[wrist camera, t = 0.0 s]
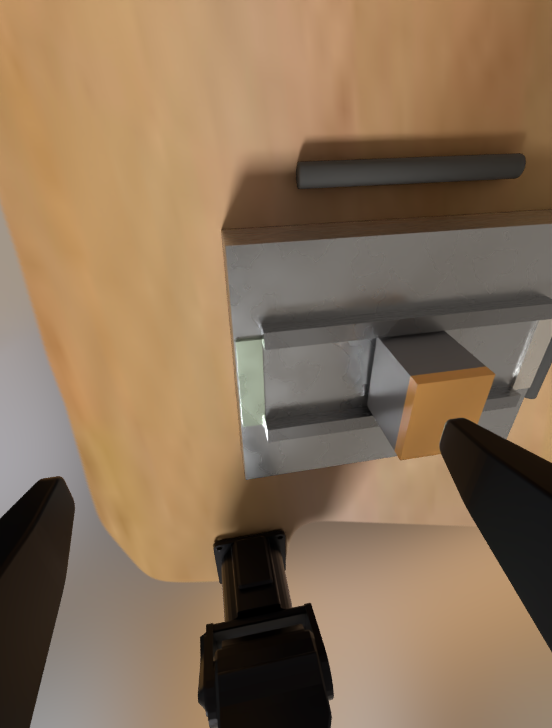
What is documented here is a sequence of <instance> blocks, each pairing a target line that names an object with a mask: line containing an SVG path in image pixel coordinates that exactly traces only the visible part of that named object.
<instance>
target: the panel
mask: <svg viewBox="0 0 552 728" xmlns="http://www.w3.org/2000/svg"><path fill="white" fill-rule="evenodd" d="M221 234H222V245H223V256H224V267H225V278H226V289H227V300H228V311H229V322H230V333H231V344H232V355H233V365H234V376H235V387H236V398H237V409H238V420H239V431H240V442H241V451H242V458H243V465H244V471H245V478H246V480H248V479H254V478H260V477H267V476H273V475H280V474H286V473H292V472H299V471H305V470H311V469H318V468H324V467H330V466H337V465H343V464H350V463H356V462H362V461H369V460H375V459H381V458H388V457H394V456H397V454H396V453H395V451H394V449H393V448H392V446H391V444H390V443H389V441H388V439H387V438H386V436H385V434H384V433H383V431H382V430H381V428H380V426H379V425H378V423H377V421H376V420H375V418H374V416H373V415H372V413H371V411H370V410H369V408H368V406H367V401H368V394H369V387H370V380H371V373H372V367H373V360H374V353H375V346H376V339H377V338H382V337H391V336H400V335H409V334H418V333H427V332H437V331H445V332H447V333H448V334H449V335H450V336H451V337H452V338H454V339H455V340H456V341H457V342H458V343H459V344H461V345H462V346H463V347H464V348H465V349H466V350H468V351H469V352H470V353H471V354H472V355H474V356H475V357H476V358H477V359H478V360H479V361H481V362H482V363H483V364H484V365H485V366H486V367H488V368H489V369H490V370H491V371H492V372H493V373H495V374H496V375H495V377H494V380H493V383H492V386H491V389H490V391H489V394H488V397H487V400H486V402H485V405H484V408H483V411H482V414H481V416H480V419H479V422H478V425H480V426H481V427H483V428H485V429H487V430H489V431H491V432H493V433H495V434H497V435H499V436H501V437H503V438H505V439H507V437H508V434H509V432H510V430H511V427H512V425H513V423H514V420H515V418H516V416H517V413H518V411H519V408H520V406H521V404H522V401H523V399H524V397H525V394H526V392H527V390H528V388H530V386H531V384H532V382H533V379H534V377H535V375H536V372H537V370H538V368H539V365H540V363H541V361H542V358H543V356H544V354H545V351H546V349H547V347H548V344H549V342H550V340H551V337H552V209H548V210H532V211H516V212H500V213H484V214H468V215H452V216H436V217H420V218H404V219H388V220H372V221H356V222H340V223H324V224H308V225H292V226H276V227H260V228H244V229H228V230H221Z"/></svg>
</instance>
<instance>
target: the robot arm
mask: <svg viewBox="0 0 552 728" xmlns="http://www.w3.org/2000/svg"><path fill="white" fill-rule="evenodd" d="M439 448H440V452H441V455H442V457H443V459H444V461H445V463H446V465H447V468H448V470H449V472H450V474H451V476H452V478H453V480H454V483H455V485H456V487H457V489H458V491H459V493H460V496H461V498H462V500H463V502H464V504H465V506H466V508H467V509H468V511H469V513H470V515H471V517H472V518H473V520H474V522H475V523H476V525H477V527H478V528H479V530H480V532H481V533H482V535H483V537H484V539H485V540H486V542H487V544H488V545H489V547H490V549H491V550H492V552H493V554H494V555H495V557H496V559H497V560H498V562H499V564H500V566H501V567H502V569H503V571H504V572H505V574H506V576H507V577H508V579H509V581H510V582H511V584H512V586H513V587H514V589H515V591H516V593H517V594H518V596H519V597H520V599H521V601H522V603H523V604H524V606H525V608H526V609H527V611H528V613H529V614H530V616H531V618H532V619H533V621H534V623H535V625H536V626H537V628H538V630H539V631H540V633H541V635H542V636H543V638H544V640H545V641H546V643H547V645H548V647H549V648H550V650H551V651H552V463H551V462H549V461H547V460H545V459H543V458H541V457H539V456H537V455H535V454H533V453H531V452H530V451H528V450H526V449H524V448H522V447H520V446H518V445H516V444H514V443H512V442H510V441H508V440H506V439H505V438H503V437H501V436H499V435H497V434H495V433H493V432H491V431H489V430H487V429H485V428H483V427H481V426H480V425H478V424H476V423H474V422H472V421H470V420H468V419H466V418H455V419H449V420H447V422H446V423H445V426H444V429H443V432H442V436H441V439H440V443H439ZM74 504H75V503H74V500H73V497H72V495H71V493H70V491H69V489H68V487H67V485H66V482H65V481H64V479H63V478H62V477H60V476H57V477H50V478H43V479H40V480H39V481H38V482H37V483H35V484H34V485H33V486H32V487H31V488H30V490H28V491H27V492H26V493H25V494H24V495H23V497H22V498H20V499H19V500H18V501H17V502H16V503H15V504H14V505H13V506H12V507H11V508H10V509H9V510H8V511H7V512H6V513H5V514H4V515H3V516H2V517H1V518H0V728H30V724H31V720H32V716H33V711H34V707H35V704H36V699H37V695H38V691H39V687H40V683H41V679H42V674H43V671H44V667H45V663H46V659H47V655H48V651H49V647H50V642H51V638H52V634H53V630H54V626H55V622H56V618H57V614H58V610H59V606H60V602H61V597H62V594H63V589H64V585H65V579H66V573H67V567H68V559H69V551H70V543H71V536H72V528H73V520H74V513H75V505H74ZM213 547H214V555H215V560H216V565H217V571H218V576H219V582H220V584H222V587H223V602H224V617H225V622H222V623H217V624H213V623H211V624H207V625H206V633H205V634H204V635H202V636H201V637H200V648H201V649H200V651H201V659H200V662H201V663H200V675H199V687H198V702H199V704H200V705H201V706H202V707H203V708H204V709H205V711H206V716H207V717H208V721H209V727H210V728H331V718H332V716H331V710H330V705H329V701H328V700H332V699H333V697H334V693H333V684H332V677H331V672H330V666H329V662H328V658H327V654H326V650H325V647H324V644H323V641H322V637H321V634H320V631H319V628H318V624H317V621H316V619H315V615H314V612H313V609H312V605H311V603H307V604H304V605H303V606H298V607H294V608H292V603H291V599H290V595H289V589H288V584H287V579H286V574H285V570H286V553H285V533H284V531H282V530H279V531H273V532H268V533H262V534H256V535H251V536H245V537H240V538H234V539H228V540H223V541H218V542H215V543H214V545H213Z"/></svg>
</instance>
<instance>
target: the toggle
mask: <svg viewBox="0 0 552 728" xmlns="http://www.w3.org/2000/svg"><path fill="white" fill-rule="evenodd" d="M495 375H496V374H495V373H493V372H492V371H491V370H490V369H489V368H488V367H486V366H485V365H484V364H483V363H482V362H481V361H479V360H478V359H477V358H476V357H475V356H474V355H472V354H471V353H470V352H469V351H468V350H466V349H465V348H464V347H463V346H462V345H461V344H459V343H458V342H457V341H456V340H455V339H454V338H452V337H451V336H450V335H449V334H448V333H447V332H445V331H437V332H427V333H418V334H409V335H400V336H391V337H382V338H377V339H376V346H375V353H374V360H373V367H372V373H371V380H370V387H369V394H368V401H367V406H368V408H369V410H370V411H371V413H372V415H373V416H374V418H375V420H376V421H377V423H378V425H379V426H380V428H381V430H382V431H383V433H384V434H385V436H386V438H387V439H388V441H389V443H390V444H391V446H392V448H393V449H394V451H395V453H396V454H397V456H398V458H399V459H400V460H406V459H412V458H418V457H424V456H431V455H437V454H441V452H440V448H439V443H440V439H441V436H442V432H443V429H444V426H445V423H446V422H447V420H449V419H455V418H466V419H468V420H470V421H472V422H474V423H476V424H478V422H479V419H480V416H481V414H482V411H483V408H484V405H485V402H486V400H487V397H488V394H489V391H490V389H491V386H492V383H493V380H494V377H495Z"/></svg>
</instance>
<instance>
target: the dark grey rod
mask: <svg viewBox="0 0 552 728" xmlns="http://www.w3.org/2000/svg"><path fill="white" fill-rule="evenodd" d="M551 363H552V337H551V340H550V342H549V344H548V347H547V349H546V351H545V354H544V356H543V358H542V361H541V363H540V365H539V368H538V370H537V372H536V375H535V377H534V379H533V382H532V384H531V386H530V388H528V390H527V392H526V394H525V398H528V399H535V398H536V397H537V394H538V392H539V390H540V388H541V386H542V383H543V381H544V379H545V377H546V374H547V372H548V370H549V368H550V365H551Z"/></svg>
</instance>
